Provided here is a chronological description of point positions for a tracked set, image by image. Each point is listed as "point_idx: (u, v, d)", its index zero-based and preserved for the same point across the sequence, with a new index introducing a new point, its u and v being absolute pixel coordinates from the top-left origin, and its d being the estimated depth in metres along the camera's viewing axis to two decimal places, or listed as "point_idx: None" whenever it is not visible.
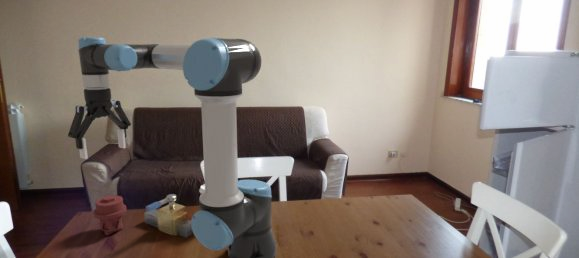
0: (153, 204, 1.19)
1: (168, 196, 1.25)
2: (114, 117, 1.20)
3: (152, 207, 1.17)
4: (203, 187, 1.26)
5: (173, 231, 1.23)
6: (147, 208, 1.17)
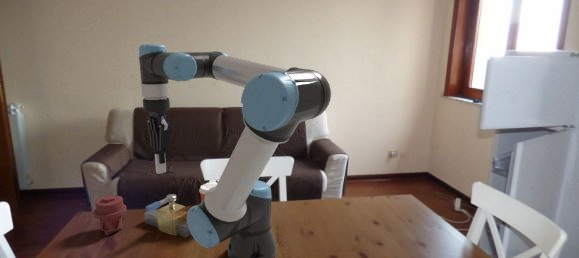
0: (153, 204, 1.19)
1: (168, 196, 1.25)
2: (156, 134, 1.10)
3: (152, 207, 1.17)
4: (203, 187, 1.26)
5: (173, 231, 1.23)
6: (147, 208, 1.17)
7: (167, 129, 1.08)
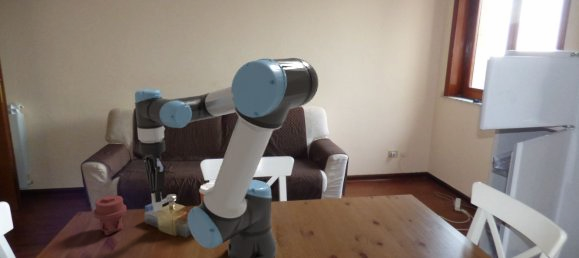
0: None
1: (168, 196, 1.25)
2: (152, 175, 1.14)
3: (151, 207, 1.18)
4: (203, 187, 1.26)
5: (173, 231, 1.23)
6: (146, 208, 1.17)
7: (162, 171, 1.11)
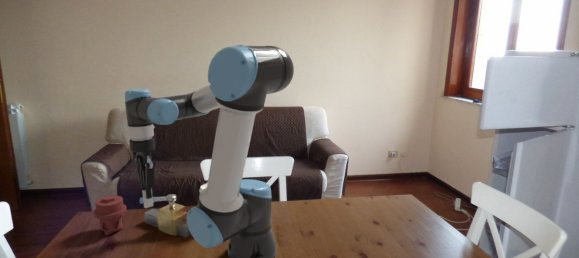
0: None
1: (169, 195, 1.25)
2: (142, 172, 1.18)
3: None
4: (203, 187, 1.26)
5: (173, 231, 1.23)
6: (140, 200, 1.23)
7: (152, 167, 1.15)
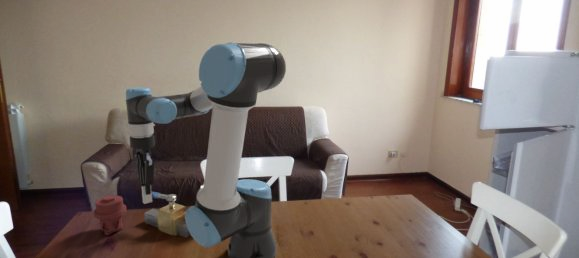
0: (152, 192, 1.27)
1: (170, 195, 1.26)
2: (142, 168, 1.21)
3: None
4: None
5: (173, 231, 1.23)
6: None
7: (152, 164, 1.18)
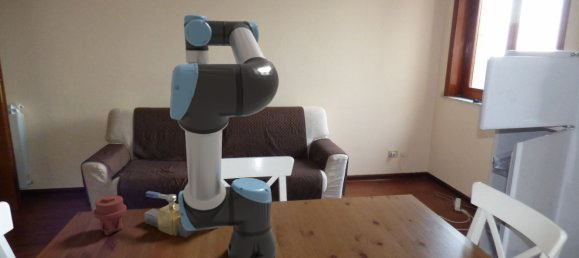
0: (152, 192, 1.27)
1: (170, 195, 1.26)
2: None
3: (148, 194, 1.27)
4: None
5: (173, 231, 1.23)
6: None
7: None
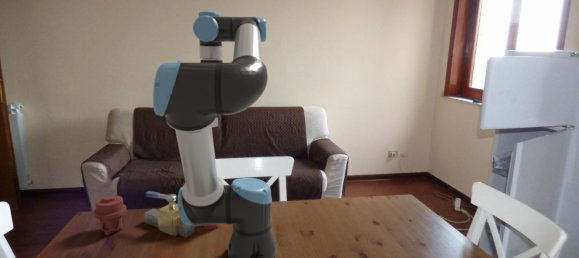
0: (152, 192, 1.27)
1: (170, 195, 1.26)
2: None
3: (148, 194, 1.27)
4: None
5: (173, 231, 1.23)
6: None
7: None
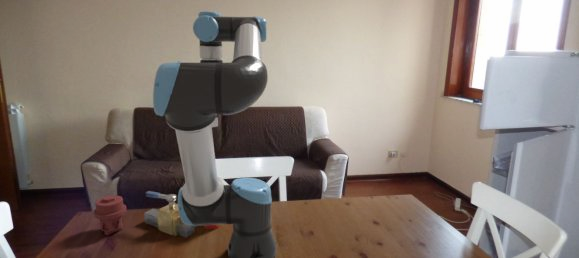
0: (152, 192, 1.27)
1: (170, 195, 1.26)
2: None
3: (148, 194, 1.27)
4: None
5: (173, 231, 1.23)
6: None
7: None
